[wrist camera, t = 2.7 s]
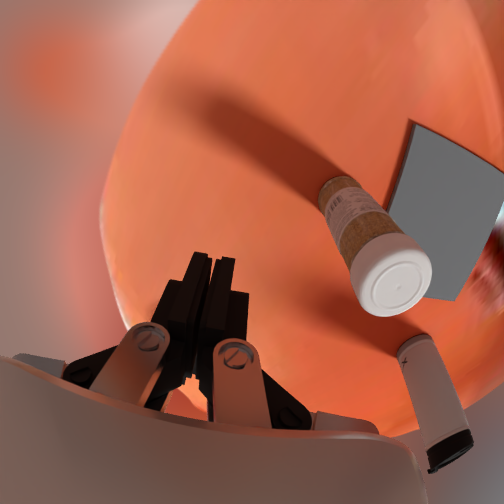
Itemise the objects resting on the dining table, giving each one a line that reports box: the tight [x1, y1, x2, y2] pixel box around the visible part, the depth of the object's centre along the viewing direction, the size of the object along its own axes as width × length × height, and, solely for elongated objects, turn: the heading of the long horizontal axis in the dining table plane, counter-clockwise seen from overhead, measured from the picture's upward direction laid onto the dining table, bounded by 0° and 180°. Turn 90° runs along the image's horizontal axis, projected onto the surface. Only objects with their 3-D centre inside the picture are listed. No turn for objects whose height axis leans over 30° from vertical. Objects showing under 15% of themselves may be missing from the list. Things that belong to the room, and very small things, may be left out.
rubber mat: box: [386, 124, 504, 301], centre depth 25 cm, size 18×16×1 cm
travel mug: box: [397, 334, 474, 474], centre depth 27 cm, size 6×7×20 cm
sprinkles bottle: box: [318, 176, 432, 317], centre depth 19 cm, size 5×5×13 cm
